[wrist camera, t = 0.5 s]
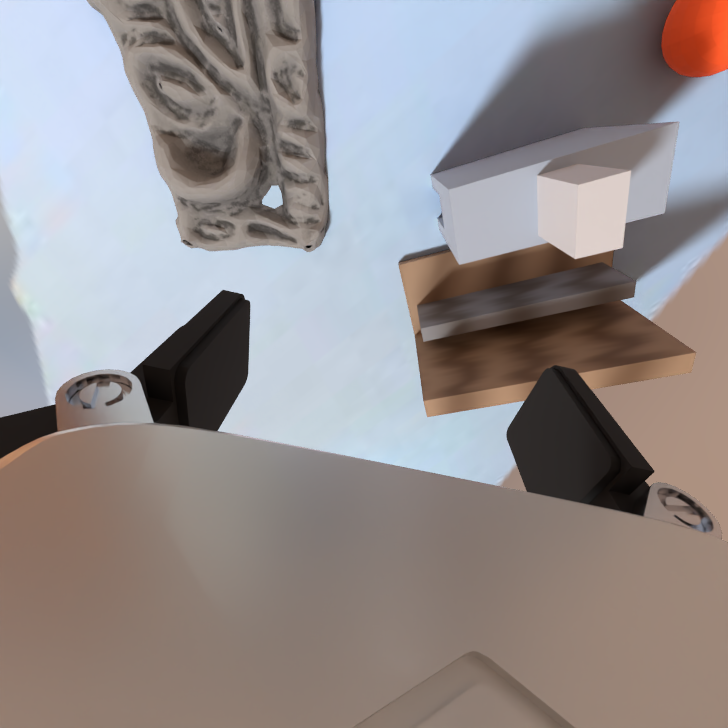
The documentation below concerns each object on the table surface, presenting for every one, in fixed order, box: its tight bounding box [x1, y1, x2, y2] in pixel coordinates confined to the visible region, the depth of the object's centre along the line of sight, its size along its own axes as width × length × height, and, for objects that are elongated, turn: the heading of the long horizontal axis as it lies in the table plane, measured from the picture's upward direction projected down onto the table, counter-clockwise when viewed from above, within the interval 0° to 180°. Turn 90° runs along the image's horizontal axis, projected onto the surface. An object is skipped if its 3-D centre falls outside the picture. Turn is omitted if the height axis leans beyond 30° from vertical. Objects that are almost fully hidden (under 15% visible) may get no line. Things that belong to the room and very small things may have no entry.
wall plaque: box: [87, 0, 329, 252], centre depth 32 cm, size 24×19×4 cm
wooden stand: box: [399, 242, 696, 417], centre depth 34 cm, size 22×11×14 cm, turn 106°
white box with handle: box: [431, 122, 679, 265], centre depth 27 cm, size 14×5×18 cm, turn 106°
